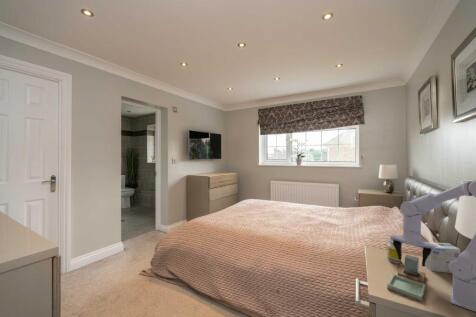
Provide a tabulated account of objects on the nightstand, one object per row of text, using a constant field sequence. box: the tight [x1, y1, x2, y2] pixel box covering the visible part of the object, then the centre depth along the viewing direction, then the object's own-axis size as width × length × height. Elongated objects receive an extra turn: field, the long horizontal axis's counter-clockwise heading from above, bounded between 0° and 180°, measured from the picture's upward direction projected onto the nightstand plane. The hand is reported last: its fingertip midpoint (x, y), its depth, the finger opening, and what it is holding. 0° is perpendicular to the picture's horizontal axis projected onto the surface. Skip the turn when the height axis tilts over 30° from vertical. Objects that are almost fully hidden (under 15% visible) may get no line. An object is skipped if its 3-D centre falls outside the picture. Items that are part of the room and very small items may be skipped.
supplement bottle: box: [386, 239, 402, 264], centre depth 103 cm, size 5×5×10 cm
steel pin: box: [404, 254, 420, 278], centre depth 90 cm, size 4×4×8 cm
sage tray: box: [386, 273, 426, 303], centre depth 82 cm, size 10×10×2 cm
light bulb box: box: [424, 241, 461, 274], centre depth 96 cm, size 11×7×11 cm, turn 77°
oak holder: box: [397, 265, 426, 284], centre depth 90 cm, size 8×8×2 cm
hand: (411, 262), depth 90 cm, fingers open, 7 cm apart
